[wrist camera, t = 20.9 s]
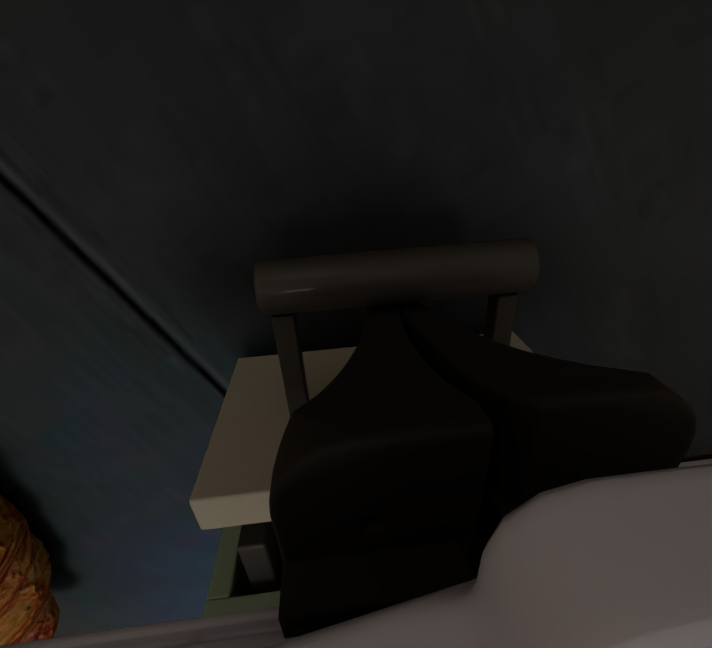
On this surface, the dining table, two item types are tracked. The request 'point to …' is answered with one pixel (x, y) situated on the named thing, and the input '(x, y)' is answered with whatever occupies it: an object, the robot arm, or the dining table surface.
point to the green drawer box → (233, 581)
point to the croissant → (24, 582)
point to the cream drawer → (330, 364)
